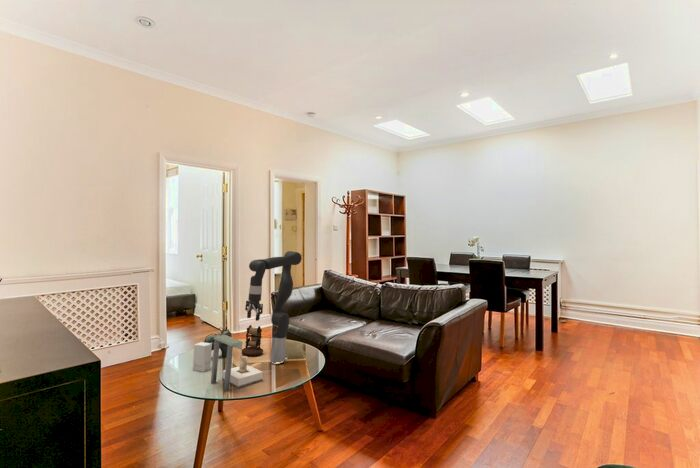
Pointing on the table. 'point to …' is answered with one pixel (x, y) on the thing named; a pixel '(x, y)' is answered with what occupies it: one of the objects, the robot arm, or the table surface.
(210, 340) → the ceramic cat
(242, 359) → the peg
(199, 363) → the skincare box
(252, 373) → the socket block
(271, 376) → the table surface
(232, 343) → the twin post stand
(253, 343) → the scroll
